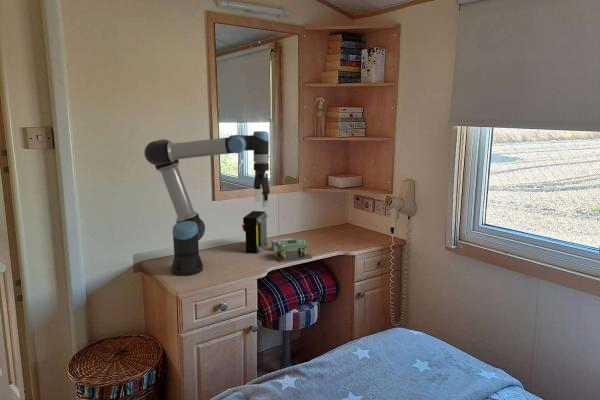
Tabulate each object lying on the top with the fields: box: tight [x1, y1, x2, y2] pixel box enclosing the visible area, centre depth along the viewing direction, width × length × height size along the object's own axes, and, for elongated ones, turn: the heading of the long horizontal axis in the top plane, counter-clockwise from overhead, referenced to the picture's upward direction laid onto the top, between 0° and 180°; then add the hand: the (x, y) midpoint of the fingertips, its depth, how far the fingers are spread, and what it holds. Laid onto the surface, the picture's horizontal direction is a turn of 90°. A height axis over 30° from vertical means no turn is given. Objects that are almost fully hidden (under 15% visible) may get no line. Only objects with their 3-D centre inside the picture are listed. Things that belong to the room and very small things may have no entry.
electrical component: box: [241, 210, 269, 255], centre depth 246 cm, size 18×10×20 cm, turn 168°
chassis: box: [272, 238, 313, 263], centre depth 233 cm, size 18×13×8 cm
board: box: [275, 238, 310, 251], centre depth 232 cm, size 16×10×3 cm, turn 111°
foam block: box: [271, 237, 293, 252], centre depth 247 cm, size 12×5×5 cm, turn 111°
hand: (261, 204), depth 222 cm, fingers open, 13 cm apart
